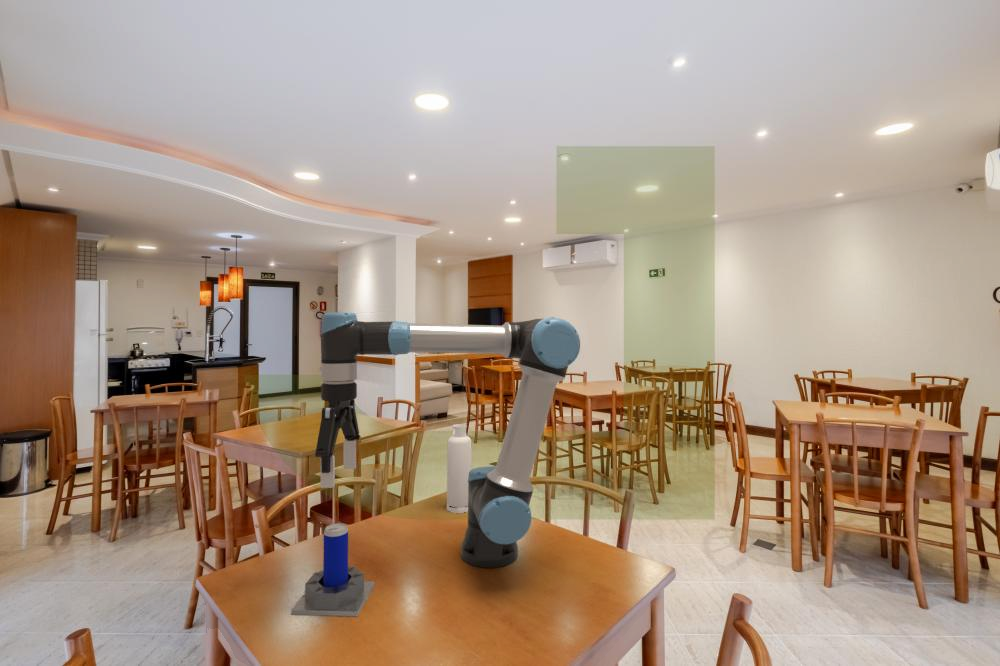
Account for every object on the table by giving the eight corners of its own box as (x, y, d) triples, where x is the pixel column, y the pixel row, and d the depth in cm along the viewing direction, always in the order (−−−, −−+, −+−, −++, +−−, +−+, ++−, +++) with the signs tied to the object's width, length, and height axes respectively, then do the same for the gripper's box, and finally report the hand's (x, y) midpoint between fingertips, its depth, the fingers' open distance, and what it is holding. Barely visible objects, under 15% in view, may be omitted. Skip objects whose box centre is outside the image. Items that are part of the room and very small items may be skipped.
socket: (374, 585, 112) (374, 566, 112) (357, 616, 100) (357, 594, 100) (315, 584, 112) (315, 565, 112) (291, 614, 100) (291, 593, 100)
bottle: (473, 512, 157) (474, 427, 157) (449, 514, 155) (449, 428, 155) (468, 503, 165) (468, 422, 165) (444, 505, 163) (445, 423, 163)
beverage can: (340, 586, 110) (341, 520, 109) (352, 594, 106) (352, 527, 106) (318, 595, 106) (319, 527, 106) (330, 604, 102) (330, 534, 102)
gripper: (342, 376, 119) (342, 461, 119) (297, 388, 94) (297, 496, 94) (372, 376, 119) (372, 461, 119) (335, 388, 94) (335, 496, 94)
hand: (339, 477), depth 106 cm, fingers open, 13 cm apart
